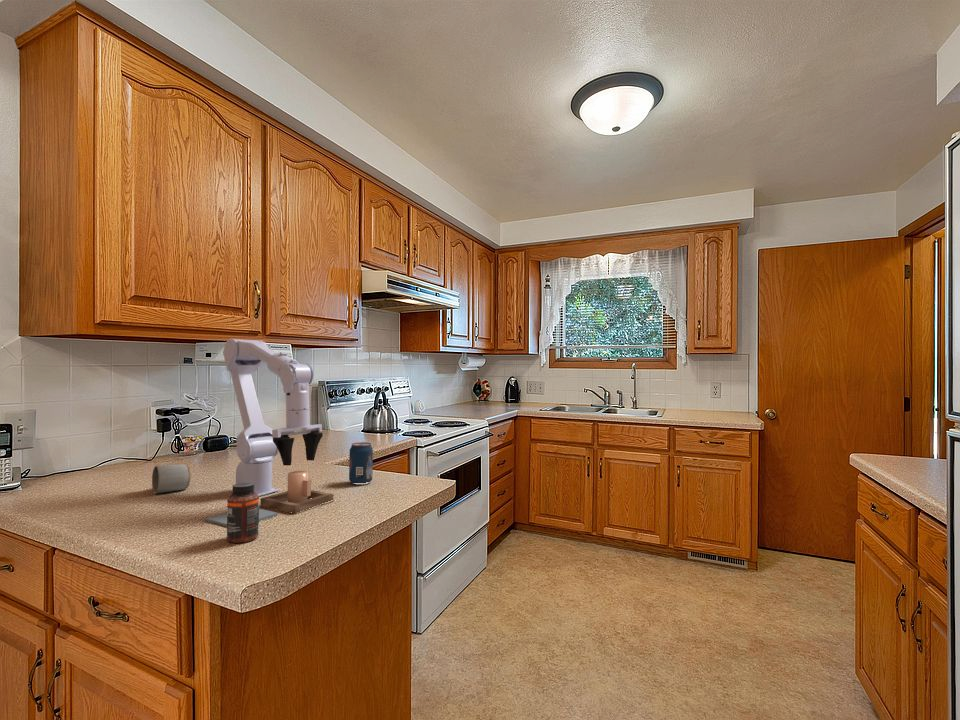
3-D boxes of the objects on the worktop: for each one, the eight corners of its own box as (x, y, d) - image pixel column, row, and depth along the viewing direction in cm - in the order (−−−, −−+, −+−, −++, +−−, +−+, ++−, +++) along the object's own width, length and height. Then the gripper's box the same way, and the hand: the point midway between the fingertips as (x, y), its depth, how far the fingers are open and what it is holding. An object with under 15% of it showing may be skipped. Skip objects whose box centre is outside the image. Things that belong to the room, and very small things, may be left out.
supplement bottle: (263, 533, 102) (264, 480, 103) (251, 544, 97) (252, 487, 97) (235, 533, 102) (236, 480, 102) (220, 544, 96) (221, 487, 96)
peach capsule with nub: (282, 505, 123) (283, 473, 123) (298, 500, 128) (299, 470, 128) (300, 508, 120) (301, 476, 120) (316, 503, 125) (316, 473, 125)
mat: (204, 520, 110) (204, 518, 110) (247, 508, 120) (247, 506, 120) (235, 529, 105) (235, 526, 105) (277, 515, 115) (277, 512, 115)
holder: (260, 506, 122) (260, 498, 122) (299, 494, 133) (299, 487, 133) (295, 514, 116) (295, 505, 116) (333, 501, 127) (333, 493, 127)
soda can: (351, 480, 150) (351, 442, 150) (373, 480, 151) (374, 442, 151) (347, 486, 143) (347, 445, 143) (370, 485, 144) (371, 445, 144)
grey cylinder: (191, 490, 136) (192, 463, 136) (157, 496, 130) (158, 467, 130) (180, 484, 143) (180, 458, 143) (147, 489, 137) (148, 462, 137)
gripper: (285, 411, 117) (287, 468, 116) (329, 407, 130) (331, 458, 129) (265, 412, 120) (267, 466, 119) (310, 408, 133) (312, 457, 132)
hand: (299, 462), depth 124 cm, fingers open, 7 cm apart
